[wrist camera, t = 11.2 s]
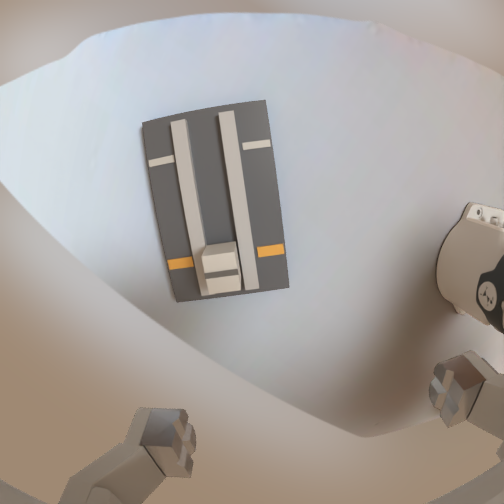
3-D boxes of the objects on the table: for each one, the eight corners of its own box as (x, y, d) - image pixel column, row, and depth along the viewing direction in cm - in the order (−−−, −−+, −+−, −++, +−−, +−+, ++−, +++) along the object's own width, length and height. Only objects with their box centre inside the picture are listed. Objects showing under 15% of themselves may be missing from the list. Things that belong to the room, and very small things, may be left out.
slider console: (264, 103, 31) (266, 97, 28) (287, 281, 37) (290, 291, 34) (147, 124, 31) (138, 121, 28) (179, 295, 37) (174, 306, 34)
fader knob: (236, 238, 33) (234, 252, 28) (241, 271, 34) (241, 290, 29) (207, 242, 33) (200, 256, 28) (213, 275, 34) (208, 294, 29)
